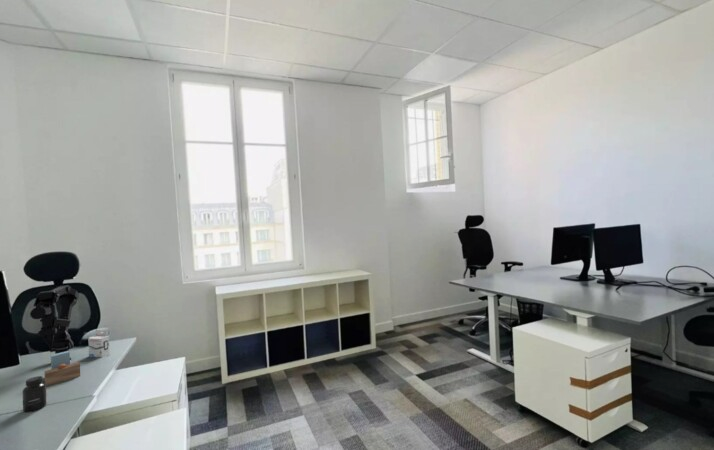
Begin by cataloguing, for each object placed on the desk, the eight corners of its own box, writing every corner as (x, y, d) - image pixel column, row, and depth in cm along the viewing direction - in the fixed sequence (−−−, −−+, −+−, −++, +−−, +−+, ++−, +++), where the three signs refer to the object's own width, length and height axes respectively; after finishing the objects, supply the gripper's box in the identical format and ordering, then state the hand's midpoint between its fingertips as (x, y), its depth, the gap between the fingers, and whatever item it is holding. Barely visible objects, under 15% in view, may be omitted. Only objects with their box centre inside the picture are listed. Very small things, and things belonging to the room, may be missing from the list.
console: (42, 380, 154) (41, 363, 154) (75, 370, 164) (74, 355, 163) (46, 388, 146) (45, 370, 146) (80, 378, 155) (79, 361, 155)
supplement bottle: (31, 413, 126) (30, 383, 126) (18, 412, 128) (16, 382, 127) (51, 404, 133) (50, 375, 133) (38, 402, 134) (37, 374, 134)
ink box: (88, 359, 178) (87, 332, 178) (96, 355, 183) (95, 329, 183) (102, 359, 177) (101, 332, 177) (110, 355, 182) (109, 329, 182)
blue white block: (51, 377, 154) (50, 354, 154) (69, 372, 159) (68, 350, 159) (52, 379, 152) (51, 356, 152) (70, 374, 157) (69, 352, 157)
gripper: (67, 313, 162) (70, 344, 161) (71, 310, 177) (73, 339, 176) (36, 319, 155) (39, 351, 154) (43, 315, 170) (45, 345, 169)
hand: (50, 346), depth 164 cm, fingers closed
